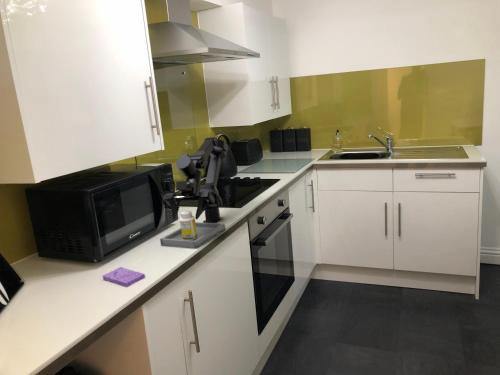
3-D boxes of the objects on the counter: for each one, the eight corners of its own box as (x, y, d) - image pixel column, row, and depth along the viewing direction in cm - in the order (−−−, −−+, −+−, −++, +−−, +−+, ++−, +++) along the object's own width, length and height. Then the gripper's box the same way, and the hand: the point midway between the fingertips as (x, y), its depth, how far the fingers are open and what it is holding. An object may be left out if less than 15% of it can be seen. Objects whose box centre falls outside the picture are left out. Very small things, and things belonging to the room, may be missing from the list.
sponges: (121, 271, 134) (120, 266, 134) (146, 278, 126) (145, 272, 126) (102, 280, 129) (101, 275, 128) (127, 288, 121) (125, 282, 121)
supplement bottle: (193, 234, 158) (189, 209, 155) (200, 238, 153) (196, 211, 151) (180, 239, 155) (176, 212, 153) (186, 242, 150) (182, 215, 148)
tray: (192, 227, 170) (191, 222, 170) (225, 229, 163) (224, 223, 162) (161, 245, 153) (160, 239, 153) (196, 248, 145) (195, 241, 145)
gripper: (161, 173, 155) (152, 209, 147) (207, 169, 149) (200, 207, 141) (173, 188, 164) (165, 223, 156) (217, 185, 158) (211, 222, 150)
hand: (184, 219), depth 151 cm, fingers open, 9 cm apart
